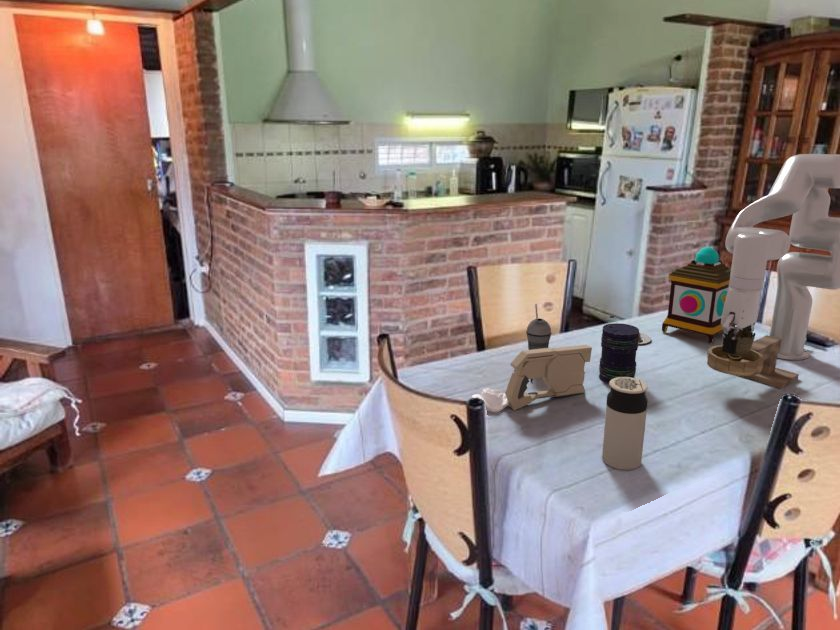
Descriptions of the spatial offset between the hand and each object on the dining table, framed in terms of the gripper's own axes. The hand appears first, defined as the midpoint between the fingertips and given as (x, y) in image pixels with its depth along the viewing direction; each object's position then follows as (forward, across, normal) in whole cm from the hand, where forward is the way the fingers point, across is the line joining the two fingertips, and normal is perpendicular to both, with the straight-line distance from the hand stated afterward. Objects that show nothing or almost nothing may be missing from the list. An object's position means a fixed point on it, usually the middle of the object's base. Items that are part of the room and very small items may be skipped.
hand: (736, 348), depth 152 cm
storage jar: (+13, +14, -25) cm, 32 cm away
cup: (+3, 0, 0) cm, 3 cm away
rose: (+13, +53, -36) cm, 65 cm away
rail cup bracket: (+13, -9, 0) cm, 15 cm away
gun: (+13, +39, -28) cm, 50 cm away
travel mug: (+13, +50, +2) cm, 52 cm away
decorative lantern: (+13, -40, -31) cm, 52 cm away
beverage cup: (+13, +26, -44) cm, 53 cm away
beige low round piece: (+14, -17, -41) cm, 47 cm away
